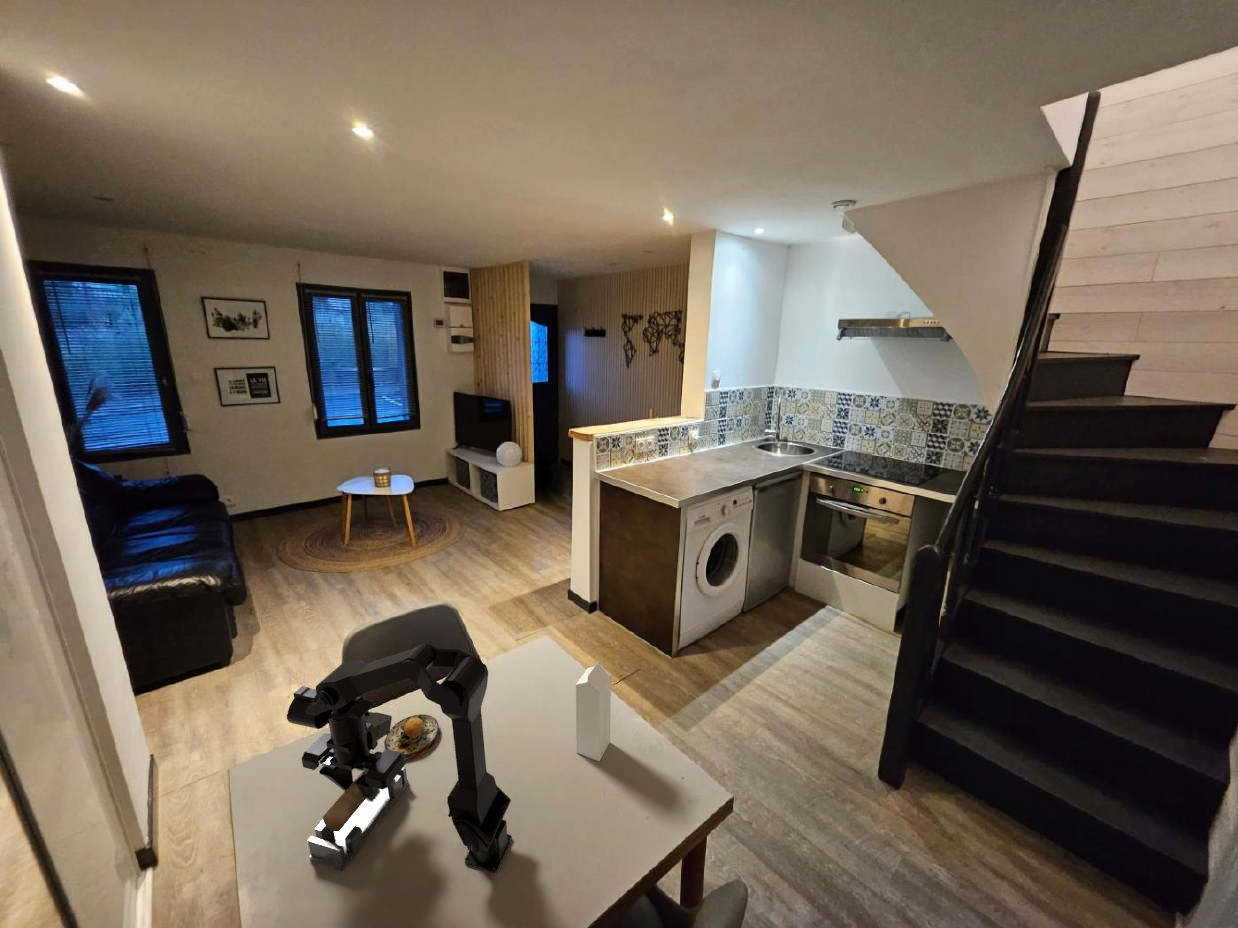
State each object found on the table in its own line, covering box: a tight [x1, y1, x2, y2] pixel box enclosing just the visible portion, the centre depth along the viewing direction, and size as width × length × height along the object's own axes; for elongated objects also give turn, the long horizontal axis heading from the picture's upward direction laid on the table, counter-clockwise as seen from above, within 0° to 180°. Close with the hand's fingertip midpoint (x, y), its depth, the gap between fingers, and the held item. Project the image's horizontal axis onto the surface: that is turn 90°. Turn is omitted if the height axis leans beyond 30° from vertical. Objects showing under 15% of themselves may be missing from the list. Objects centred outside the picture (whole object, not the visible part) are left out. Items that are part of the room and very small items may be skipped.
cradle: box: [307, 766, 409, 872], centre depth 94 cm, size 8×18×4 cm, turn 166°
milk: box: [575, 660, 612, 762], centre depth 108 cm, size 6×6×22 cm
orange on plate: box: [383, 713, 441, 760], centre depth 112 cm, size 12×12×8 cm
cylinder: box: [322, 771, 375, 832], centre depth 92 cm, size 13×4×4 cm, turn 166°
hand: (359, 793), depth 92 cm, fingers closed on cylinder, 4 cm apart
